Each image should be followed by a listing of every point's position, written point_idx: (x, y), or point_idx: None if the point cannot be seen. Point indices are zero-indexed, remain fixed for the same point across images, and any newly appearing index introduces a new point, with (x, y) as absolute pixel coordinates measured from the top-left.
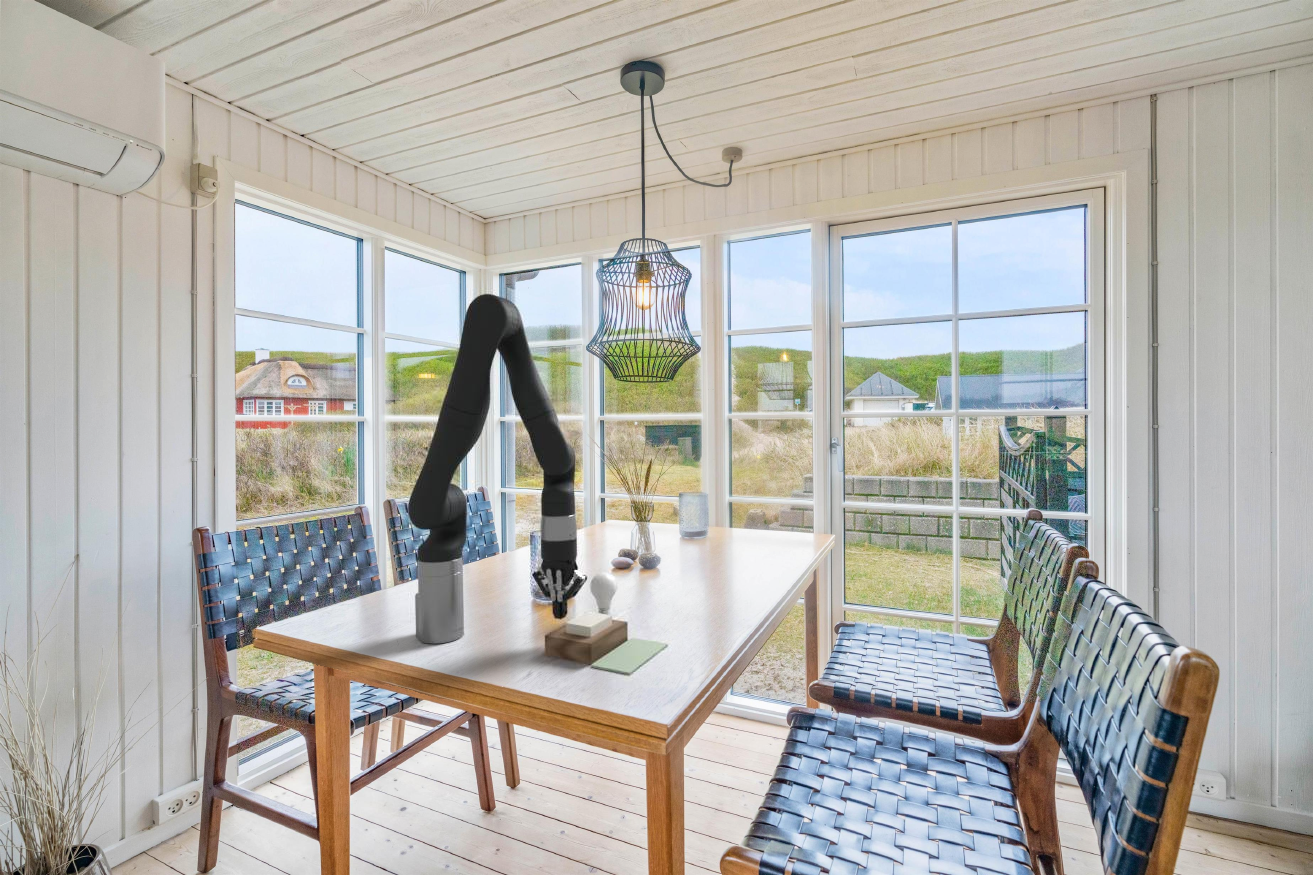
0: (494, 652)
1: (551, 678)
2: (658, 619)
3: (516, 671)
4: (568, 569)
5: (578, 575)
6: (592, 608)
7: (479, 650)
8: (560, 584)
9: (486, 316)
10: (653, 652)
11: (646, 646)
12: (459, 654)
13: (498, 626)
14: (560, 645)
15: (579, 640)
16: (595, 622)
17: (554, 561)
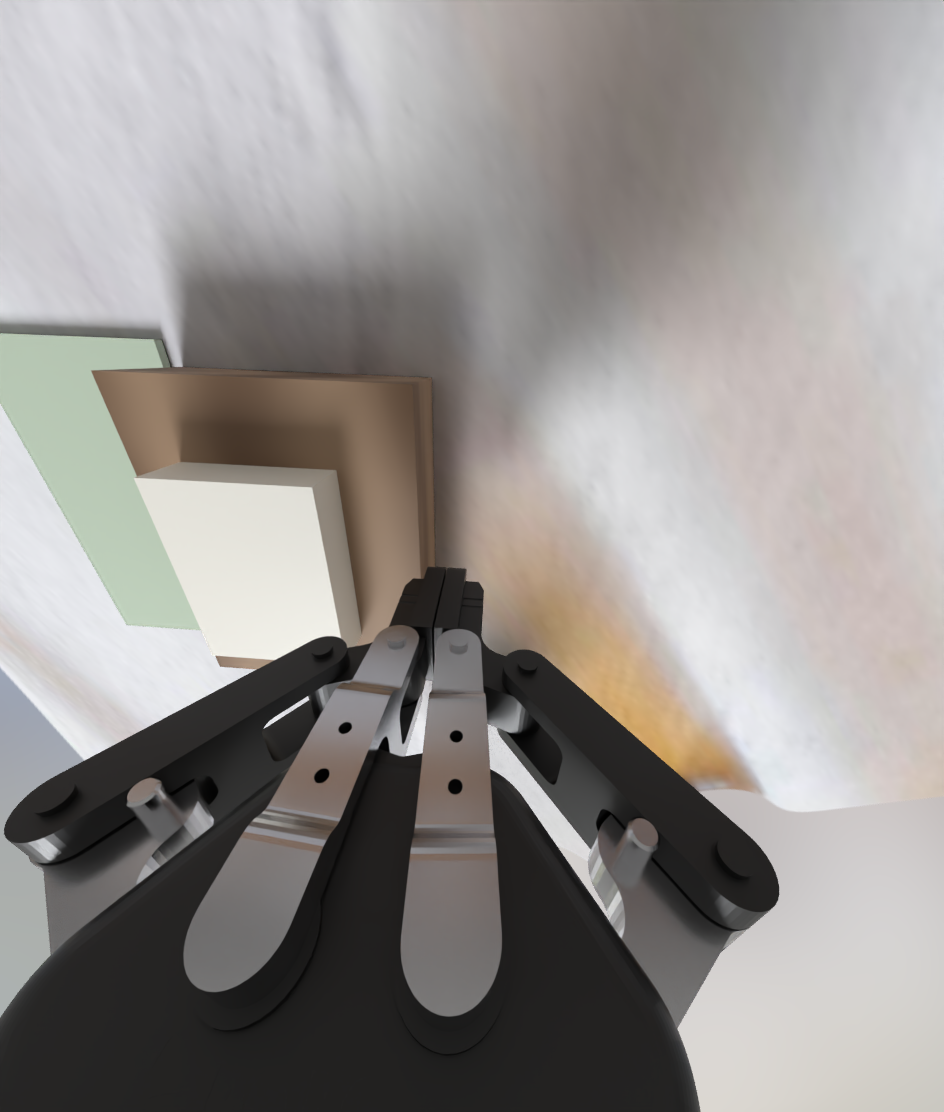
0: (703, 296)
1: (183, 74)
2: None
3: (426, 64)
4: (76, 1005)
5: (53, 883)
6: (535, 782)
7: (808, 283)
8: (320, 738)
9: None
10: (94, 550)
11: (157, 587)
12: (931, 153)
13: (811, 590)
14: (318, 377)
15: (185, 392)
16: (184, 551)
17: None
